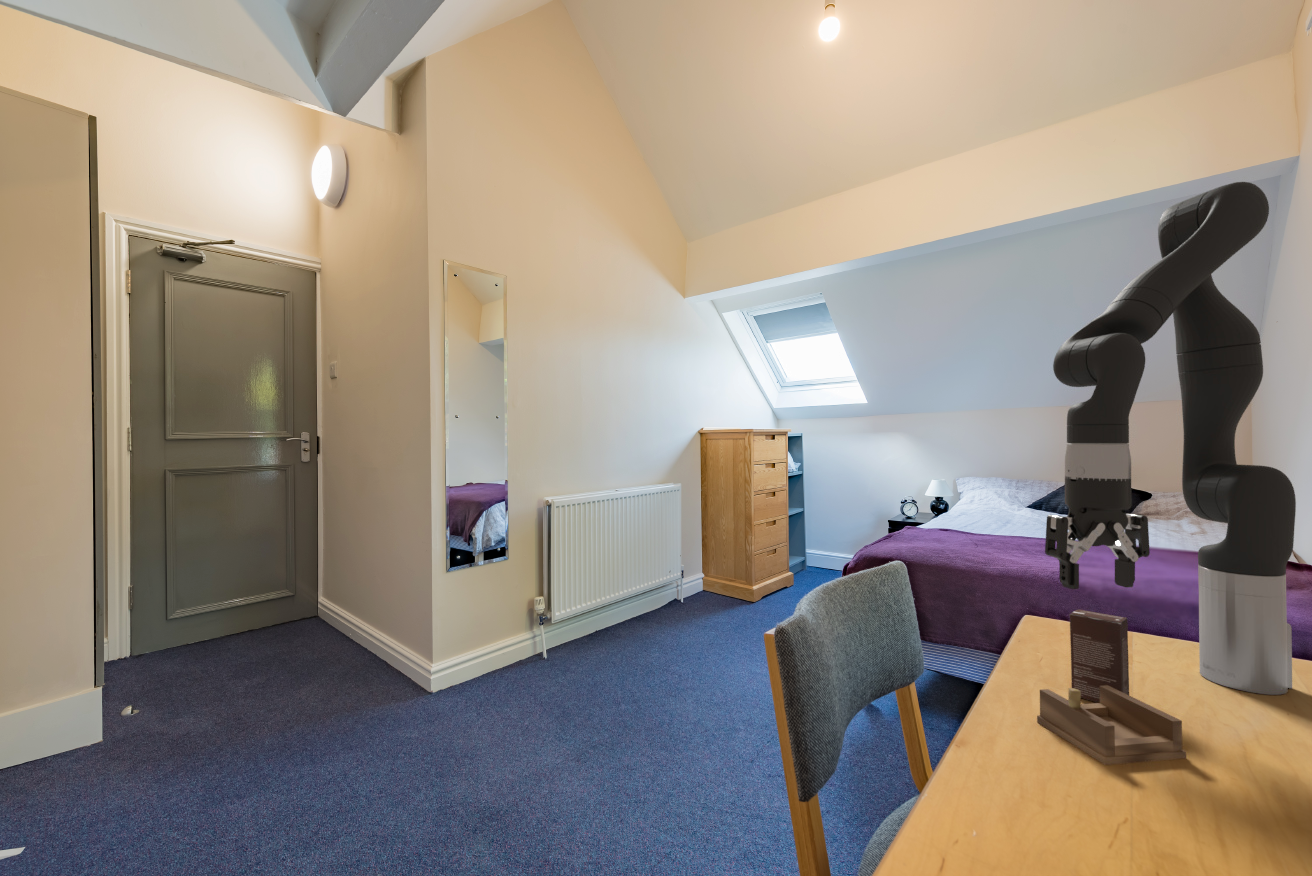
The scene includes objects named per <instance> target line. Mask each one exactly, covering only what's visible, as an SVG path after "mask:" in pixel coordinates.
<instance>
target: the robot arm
mask: <svg viewBox="0 0 1312 876" xmlns="http://www.w3.org/2000/svg"><path fill="white" fill-rule="evenodd" d="M1269 204H1270V203H1269V200H1268V198H1267V196H1266V194H1265V192H1264V190H1262V189H1261V188H1260V187H1259V186H1258V185H1256V184H1254V183H1252V182H1249V181H1248V182H1247V181H1237V182H1232V183H1229V184H1225V185H1221V186H1219V187H1215V188H1213V189H1210V190H1207V191H1205V192H1202V193H1200V194H1198V195H1195V196H1192V197H1190V198H1187V199H1185V200H1182V201H1180V202H1178V203H1175V204H1172V205H1171V206H1170V207H1168V208H1166V210H1165V211H1163V213H1162V214H1161V217H1160V219H1159V221H1158V227H1157V238H1158V247H1159V251H1160V256H1161V259H1160V260H1158V261H1157V262H1156V263H1154V264H1152V265H1151V266H1150V267H1149V268H1147V269H1146V270H1144V271H1143V272H1141V273H1140V274H1139V275H1137V276H1136V277H1135V278H1133V279H1132V280H1131V281H1130V282H1129V283H1128V284H1127V285H1126V286H1125V287H1124V288H1123V289H1122V290H1121V291H1120V292H1119V293H1118V294H1117V296H1116V297H1115V298H1114V299H1113V300H1112V301H1111V302H1110V304H1109V305H1108V307H1107V308H1105V310H1104V311H1103V312H1102V313H1101V314H1100V315H1099V316H1097V317H1095V318H1094V319H1093V320H1091V321H1089V322H1088V323H1087V324H1086V325H1084V326H1083V327H1081V328H1080V329H1079V330H1077V331H1076V332H1075V333H1073V334H1072V335H1071V336H1070V337H1069V338H1067V339H1066V341H1064V342H1063V343H1062V345H1060V346H1059V348H1058V350H1057V352H1056V354H1055V356H1054V359H1053V363H1052V366H1053V367H1052V369H1053V374H1054V376H1055V377H1056V379H1057V380H1058V381H1059V382H1060V383H1061V384H1063V385H1066V386H1068V387H1074V388H1085V387H1095V388H1094V389H1093V392H1092V395H1091V397H1090V398H1089V399H1087V400H1085V401H1083V402H1079V403H1075V404H1074V405H1072V406H1071V407H1069V408H1068V410H1067V417H1066V450H1065V454H1064V504H1065V505H1066V506H1067V507H1068V514H1067V516H1062V515H1057V514H1048V515H1047V517H1046V526H1045V527H1046V528H1045V545H1044V553H1045V555H1046V556H1049V557H1052V558H1053V559H1054V558H1055V559H1057V560H1058V562H1059V567H1058V568H1059V571H1058V572H1059V573H1058V574H1059V582H1060V583H1061V586H1063V587H1064V588H1066V589H1070V590H1079V588H1080V564H1079V563H1078V561H1079V560H1080V558H1081V557H1082V556H1083V554H1084V553H1086V552H1088V551H1089V550H1090V549H1091V548H1092V547H1101V546H1105V547H1108V548H1109V549H1110V550H1111V552H1112V553H1113V555H1114V556H1115V557H1116V558H1115V559H1114V583H1115V585H1117V586H1120V587H1123V588H1133V586H1134V584H1135V582H1136V562H1138V560H1139V559H1140V558H1143V557H1144V558H1147V557H1149V555H1150V554H1151V552H1150V551H1151V549H1150V533H1149V518H1148V516H1146V515H1143V514H1134V513H1126V511H1127V510H1129V509H1130V508H1132V456H1131V451H1130V444H1129V443H1130V425H1129V424H1130V421H1129V419H1130V413H1131V409H1132V406H1133V404H1134V402H1135V398H1136V395H1137V392H1138V389H1139V386H1140V383H1141V381H1142V378H1143V374H1144V371H1145V368H1146V367H1145V366H1146V353H1145V350H1144V347H1143V345H1142V344H1145V343H1146V342H1148V341H1150V339H1152V338H1153V337H1154V336H1155V335H1156V334H1157V333H1158V332H1159V330H1160V329H1161V328H1162V326H1163V325H1164V324H1165V323H1166V322H1167V321H1168V320H1169V318H1171V315H1172V316H1173V324H1174V334H1175V335H1174V336H1175V351H1176V363H1177V371H1178V381H1179V388H1180V396H1181V412H1182V426H1183V430H1182V431H1183V449H1182V452H1183V453H1182V470H1181V471H1182V475H1181V476H1182V478H1181V482H1182V483H1181V484H1182V494H1183V499H1184V502H1185V504H1186V506H1187V507H1188V510H1190V512H1192V514H1194V515H1195V516H1196V517H1199V518H1200V519H1203V520H1206V521H1210V522H1211V521H1212V522H1218V523H1222V524H1223V523H1224V524H1227V528H1226V534H1225V537H1224V539H1223V540H1221V541H1220V542H1218V543H1214V544H1213V543H1212V544H1206V545H1203V546H1201V547H1200V548H1199V549H1198V552H1197V565H1198V566H1197V568H1198V569H1197V571H1198V572H1197V573H1198V575H1197V576H1198V581H1197V582H1198V626H1199V627H1198V632H1199V633H1198V636H1199V637H1198V639H1199V645H1198V646H1199V647H1198V648H1199V653H1198V654H1199V656H1198V657H1199V674H1200V675H1201V676H1202V677H1203V678H1205V679H1206V680H1208V681H1210V682H1213V683H1215V684H1218V685H1220V686H1224V687H1227V688H1230V689H1234V690H1237V691H1238V690H1239V691H1241V692H1242V691H1243V692H1247V693H1253V694H1260V695H1268V696H1269V695H1273V696H1276V695H1277V696H1280V695H1285V694H1287V692H1288V691H1289V689H1293V650H1292V647H1293V645H1292V644H1293V643H1292V639H1293V638H1292V626H1291V624H1290V623H1288V622H1287V620H1288V619H1287V618H1288V615H1287V612H1288V611H1287V610H1288V607H1287V575H1286V574H1287V564H1288V561H1289V560H1290V558H1291V556H1292V554H1293V549H1294V543H1295V542H1294V541H1295V539H1294V538H1295V525H1296V523H1295V522H1296V508H1297V506H1296V505H1297V501H1296V493H1295V488H1294V486H1293V483H1292V482H1291V480H1290V478H1289V477H1288V476H1287V475H1286V474H1285V473H1284V472H1283V471H1281V470H1280V469H1277V468H1275V467H1271V466H1266V465H1256V464H1238V463H1237V458H1236V447H1235V446H1236V444H1235V443H1236V442H1235V440H1236V432H1237V427H1238V425H1239V423H1240V421H1241V418H1242V417H1243V415H1244V413H1245V412H1246V410H1247V408H1248V407H1249V405H1250V404H1251V402H1252V400H1253V399H1254V397H1255V395H1256V393H1257V391H1258V390H1259V387H1260V386H1261V383H1262V380H1263V377H1264V362H1263V352H1262V345H1261V344H1262V343H1261V335H1260V332H1259V330H1258V329H1257V327H1256V326H1255V324H1254V323H1253V322H1252V321H1251V319H1250V318H1248V317H1247V316H1246V314H1244V313H1243V312H1242V311H1241V310H1240V309H1239V308H1238V307H1237V306H1236V305H1235V304H1234V303H1232V302H1231V301H1230V300H1228V298H1226V297H1225V296H1224V295H1223V294H1222V293H1221V292H1220V290H1219V289H1218V287H1217V286H1216V284H1215V282H1214V279H1213V276H1212V274H1213V273H1215V271H1217V270H1218V269H1219V268H1220V267H1221V266H1222V265H1224V264H1225V263H1226V262H1227V261H1228V260H1229V259H1231V258H1232V257H1233V256H1234V255H1235V254H1236V253H1238V252H1239V251H1240V250H1241V249H1242V248H1244V247H1245V246H1246V245H1247V244H1249V243H1250V242H1251V241H1252V240H1253V239H1255V238H1256V236H1258V235H1259V234H1260V232H1262V230H1263V228H1265V226H1266V223H1267V222H1268V220H1269V219H1268V218H1269V215H1270V205H1269ZM1137 541H1138V542H1137ZM1137 543H1138V546H1137ZM1288 688H1289V689H1288Z"/></svg>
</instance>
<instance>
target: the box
mask: <svg viewBox="0 0 1312 876" xmlns="http://www.w3.org/2000/svg"><path fill="white" fill-rule="evenodd" d="M1128 623H1129V622H1128V617H1125V616H1118V615H1112V614H1105V613H1101V612H1095V611H1089V610H1083V609H1081V608H1080V609H1079V608H1077V609H1076V610H1074V611H1072V612H1071V613H1069V631H1070V633H1069V636H1070V637H1069V638H1070V667H1071V669H1070V672H1071V673H1070V674H1071V677H1070V678H1071V688H1075V689H1078V690H1080V691H1081V699H1084V700H1087V701H1090V702H1093V703H1094V702H1095V703H1100V686H1104V685H1108V686H1110V687H1112V688H1114V689H1117V690H1119V691H1121V692H1123V693H1125V694H1127V695H1129V696H1130V676H1129V669H1130V667H1129V643H1128V641H1129V640H1128V639H1129V633H1128V632H1129V631H1128V630H1129V627H1128Z"/></svg>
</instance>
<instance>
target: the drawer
mask: <svg viewBox="0 0 1312 876" xmlns="http://www.w3.org/2000/svg"><path fill="white" fill-rule="evenodd" d="M1067 691H1068V696H1067V697H1068V699H1067V698H1065V697H1064V696H1062V695H1060V694H1058V693H1056V692H1054V691H1052V690H1050V689H1049V688H1043V689H1039V715H1036V722H1037V724H1039V725H1041V726H1043V727H1044V728H1046V729H1047V730H1049V731H1050V732H1052V733H1054V734H1055V735H1057V736H1058V737H1059V738H1061V739H1063V740H1065V741H1066V742H1067V743H1069V744H1071V745H1072V746H1074V747H1075V748H1077V749H1079V750H1081V751H1083V752H1084V753H1085V754H1087V755H1089V756H1090V757H1092V758H1093V759H1095V760H1097V761H1098V762H1099V763H1101V764H1103V765H1104V766H1108V765H1119V764H1120V765H1121V764H1132V763H1134V764H1135V763H1145V762H1155V761H1170V760H1181V759H1187V751H1186V750H1184V749H1183V721H1182V719H1179V718H1177V717H1175V716H1174V715H1171V714H1169V713H1167V712H1164V711H1162V710H1160V709H1158V708H1156V707H1154V706H1152V705H1150V704H1148V703H1145V702H1144V701H1141V700H1139V699H1138V698H1135V697H1133V696H1131V695H1130V694H1129V695H1127V694H1125V693H1123V692H1121V691H1119V690H1117V689H1114V688H1112V687H1110V686H1108V685H1104V686H1100V703H1098V702H1095V703H1094V702H1093V703H1082V704H1081V702H1082V701H1081V699H1082V698H1081V691H1080V690H1078V689H1075V688H1072V687H1069V688H1068V689H1067Z"/></svg>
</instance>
